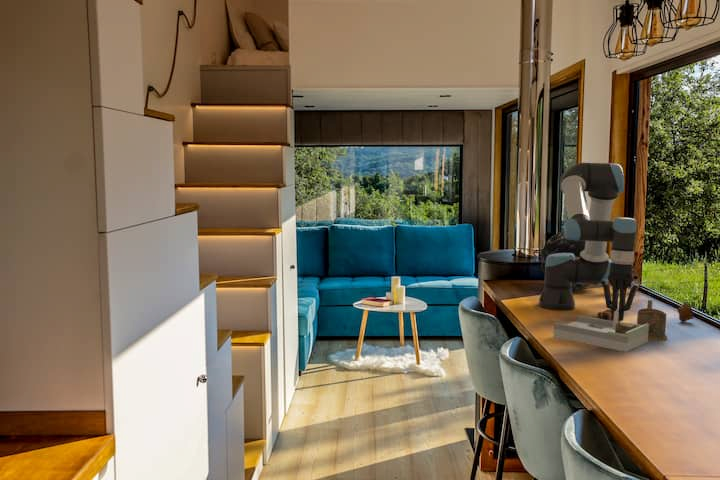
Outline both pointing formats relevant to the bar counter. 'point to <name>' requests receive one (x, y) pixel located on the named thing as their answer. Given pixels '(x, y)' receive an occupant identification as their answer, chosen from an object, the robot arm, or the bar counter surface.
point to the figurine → (605, 315)
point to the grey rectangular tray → (601, 333)
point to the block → (624, 327)
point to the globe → (562, 251)
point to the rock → (686, 312)
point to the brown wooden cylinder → (653, 322)
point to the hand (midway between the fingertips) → (616, 329)
